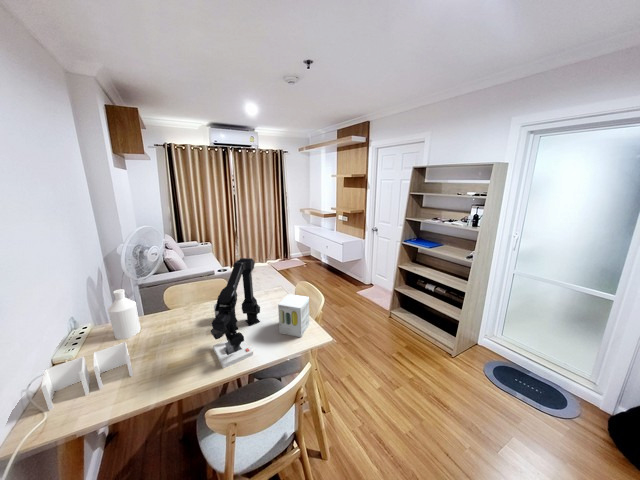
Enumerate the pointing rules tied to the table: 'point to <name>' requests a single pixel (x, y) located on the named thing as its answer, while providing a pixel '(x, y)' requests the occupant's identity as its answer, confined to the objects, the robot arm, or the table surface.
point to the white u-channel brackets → (83, 370)
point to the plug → (230, 348)
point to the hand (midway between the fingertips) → (232, 346)
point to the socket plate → (234, 357)
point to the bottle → (124, 316)
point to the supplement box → (294, 315)
